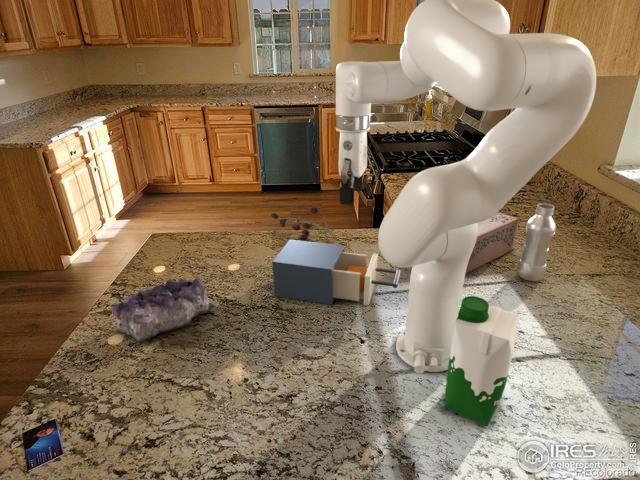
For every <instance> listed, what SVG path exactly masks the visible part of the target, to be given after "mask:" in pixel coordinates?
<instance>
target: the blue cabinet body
mask: <svg viewBox="0 0 640 480" xmlns="http://www.w3.org/2000/svg"><path fill="white" fill-rule="evenodd" d="M342 252H345V245H343V244H342V245H341V244H333V243H324V242H317V241H308V240H306V241H302V240H300V239H299V240H298V239H289V240H288V241H287V243H286V244H285V245H284V246H283V247H282V249H281V250H280V251H279V253H277V255H276V256H275V257H274V259H272V261H271V265H272V280H273V293H274V294H273V295H274V297H280V298H288V299H291V300H300V301H305V302H306V301H307V302H313V303H319V304H325V305H326V304H327V305H331V306H332V305H333V303H334V301H335V299H336V298H334V297H333V269H334V267H335V266H336V264H337V262H338V260H339V258H340V256H341V254H342Z"/></svg>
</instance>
